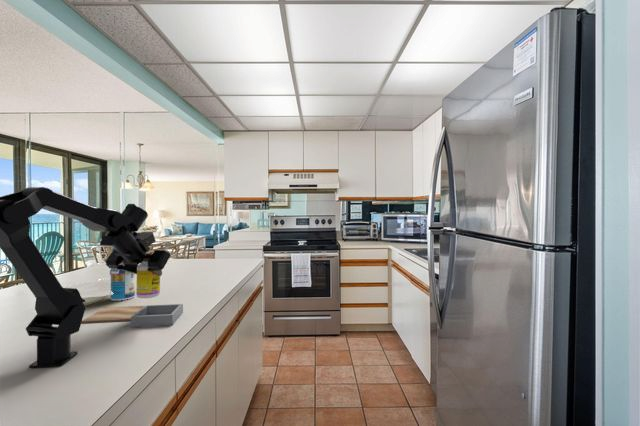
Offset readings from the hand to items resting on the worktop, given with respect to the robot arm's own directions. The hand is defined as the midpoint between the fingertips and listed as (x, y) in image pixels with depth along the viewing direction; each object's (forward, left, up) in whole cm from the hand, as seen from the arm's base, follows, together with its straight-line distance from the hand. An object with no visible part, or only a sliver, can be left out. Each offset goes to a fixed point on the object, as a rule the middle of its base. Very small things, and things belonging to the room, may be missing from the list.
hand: (151, 274), depth 105 cm
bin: (-4, -3, -13) cm, 14 cm away
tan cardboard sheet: (+3, +12, -13) cm, 18 cm away
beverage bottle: (+24, +19, -14) cm, 33 cm away
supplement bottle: (-1, +1, -7) cm, 7 cm away
